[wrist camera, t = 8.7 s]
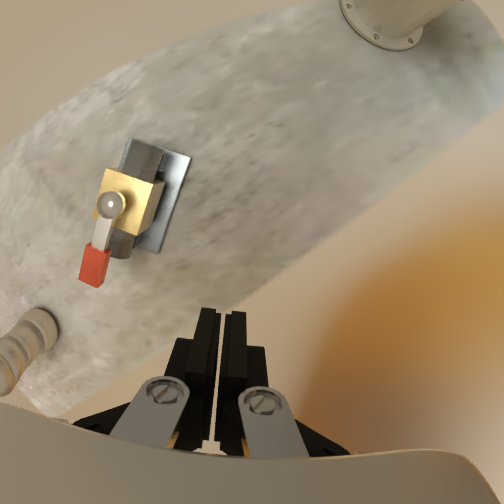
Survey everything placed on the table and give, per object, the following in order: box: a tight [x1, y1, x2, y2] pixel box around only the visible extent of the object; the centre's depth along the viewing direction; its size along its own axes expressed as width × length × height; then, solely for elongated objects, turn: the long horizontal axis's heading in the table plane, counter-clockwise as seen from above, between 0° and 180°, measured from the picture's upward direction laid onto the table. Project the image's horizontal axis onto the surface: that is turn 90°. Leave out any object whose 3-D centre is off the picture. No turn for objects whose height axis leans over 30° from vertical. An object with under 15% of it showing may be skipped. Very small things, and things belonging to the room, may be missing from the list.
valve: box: [92, 138, 192, 259], centre depth 31 cm, size 12×8×10 cm, turn 159°
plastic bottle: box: [0, 309, 57, 397], centre depth 30 cm, size 6×7×20 cm
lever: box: [79, 191, 125, 288], centre depth 26 cm, size 9×2×2 cm, turn 157°
